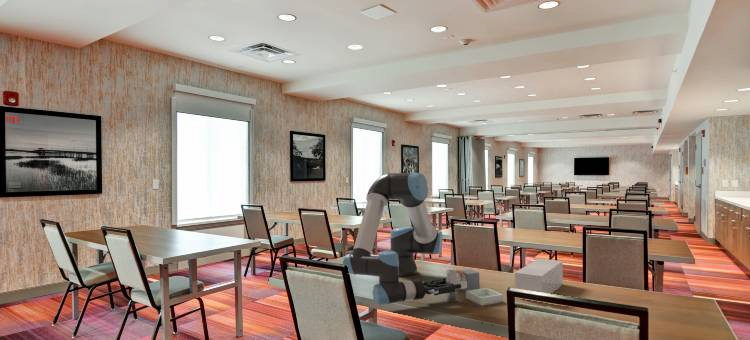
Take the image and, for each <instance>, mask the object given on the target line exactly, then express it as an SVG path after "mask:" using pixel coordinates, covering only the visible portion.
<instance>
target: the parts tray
mask: <svg viewBox="0 0 750 340" xmlns="http://www.w3.org/2000/svg"><path fill="white" fill-rule="evenodd" d="M465 299H466V300H468V301H470V302H473V303H475V304H477V305H478V306H480V307H481V306H488V305H494V304H500V302H501V303H504V294H502V293H500V292H497V291H495V290H493V289H490V288H488V287H484V288H480V289H477V290H470V291H466V292H465Z"/></svg>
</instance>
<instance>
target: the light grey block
mask: <svg viewBox="0 0 750 340" xmlns="http://www.w3.org/2000/svg"><path fill="white" fill-rule="evenodd" d="M563 263H564V262H563V260H555V259H547V258H546V259H545V258H539V257H538V258H536V259H535V260H533V261H532V262H530V263H529V264H527V265H525V266H523V267H522V268H520V269H518V270H517V271H515V272H514V277H515V278H514V284H515V285H514V288H519V289H525V290H531V291H537V292H546V293H552V294H554V293H555V292H556V291H557V290H558V289H559V288H561V286H563V284H564V283H563V282H564V281H563V280H564V279H563V276H564V272H563V270H564V269H563V267H564V266H563ZM555 290H556V291H555ZM554 291H555V292H554ZM553 292H554V293H553Z"/></svg>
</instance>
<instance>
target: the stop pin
mask: <svg viewBox="0 0 750 340" xmlns="http://www.w3.org/2000/svg"><path fill="white" fill-rule="evenodd" d="M456 270H457V269H456ZM456 270H455V269H448V270H446V280H447V284H452V283H455V282H457V277H458V273H457V271H456ZM446 302H449V303H456V302H458V289H457V290H455V292H451V293H446Z"/></svg>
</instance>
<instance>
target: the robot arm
mask: <svg viewBox="0 0 750 340" xmlns="http://www.w3.org/2000/svg"><path fill="white" fill-rule="evenodd" d="M428 195H429V186H428V180H427V178H426V176H425V175H424V174H422V173H420V172H396V173H395V172H394V173H392V172H388V173H385V174H383V175H381V176H379V177H378V178H377V179H376V180H375V181H374V182H372V185H371V186H370V187H369V189H368V191H367V194H366V198H365V199H366V206H365V209H364V211H363V216H362V219H361V221H360V226H359V228H358V232H357V235H356V239H355V243H354V246H353V249H352V252H351V253H349V254H348V253H347V254H345V256H344V257H343V259H342V266H343V265H346V266H347V267H348V271H349V273H348V274H350V275H354V276H356V275H359V276H360V275H361V276H371V277H378V283H376V284H375V285H374V286H373V289H372V296H373V299H374V302H375V304H377V305H380V306H381V305H390V304H397V303H403V302H404V303H408V302H409V301H413V300H414V301H418V300H422V299H424V297H425V295H432V294H433V296H436V297H437V296H440V295H443V294H447V293H451V292H455V290H457V291H458V290H461V289H464V288H467V281H462V282H460V278H458V279H457V282H455V283H452V284H447V279H446V278H445V277H442V279H441V278H439V279H430V280H429V279H428V280H421V279H420V278H419V279H411V280H403V281H402V280H401V281H399V280H400V278H399V277H410V276H415V275H417V274H418V267H417V264H416V261H415V257H414V254H420V255H421V254H423V255H431V256H432V255H440V253H441V250H442V247H443V232H442V230H441V231H440V230H437V228H436V226H435V225H433V224H432V221H431V219H430V215H429V212H428V208H427V205H426V202H425V200H426V199H427V198H428ZM390 200H392V201H395V200H399V201H400V203H401V205H402V206H403V207H406V210H407V213H408V216H409V218H410V220H411V224H412V226H402V227H397V228H394V229H391V231H390V238H389V239H390V250H384V251H383V250H382V251H379V253H378V255H372V252H373V248H374V244H375V240H376V238H377V235H378V234H377V233H378V231H379V227H380V223H381V219H382V216H383V212H384V209H385V207H386V206H387V205H388V202H389V201H390Z"/></svg>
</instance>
